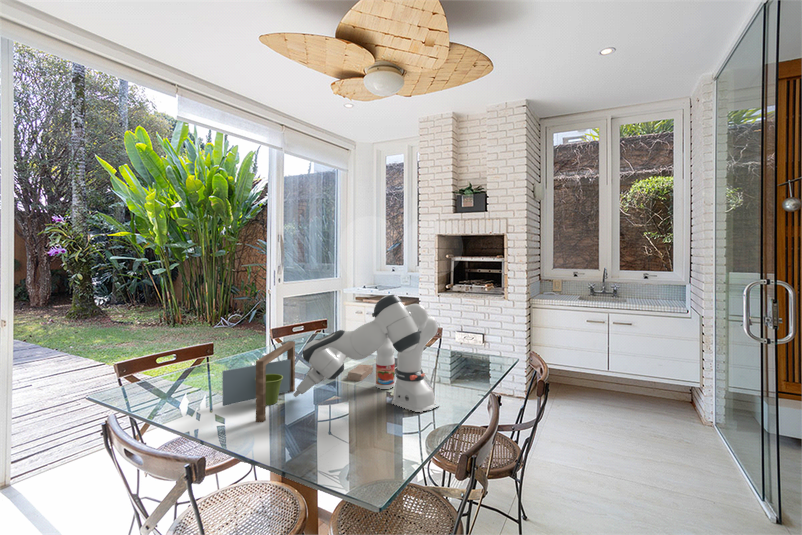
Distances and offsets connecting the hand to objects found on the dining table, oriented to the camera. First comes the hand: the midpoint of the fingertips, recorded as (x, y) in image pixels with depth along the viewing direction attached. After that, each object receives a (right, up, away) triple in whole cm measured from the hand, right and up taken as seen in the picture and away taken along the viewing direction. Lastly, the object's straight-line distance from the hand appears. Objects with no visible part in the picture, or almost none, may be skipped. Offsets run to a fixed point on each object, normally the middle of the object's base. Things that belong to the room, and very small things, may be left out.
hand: (298, 391), depth 171 cm
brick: (+24, -5, +40) cm, 46 cm away
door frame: (-9, -5, -2) cm, 10 cm away
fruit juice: (+38, -5, +22) cm, 44 cm away
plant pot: (-13, -5, 0) cm, 14 cm away
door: (-19, -4, +4) cm, 20 cm away
